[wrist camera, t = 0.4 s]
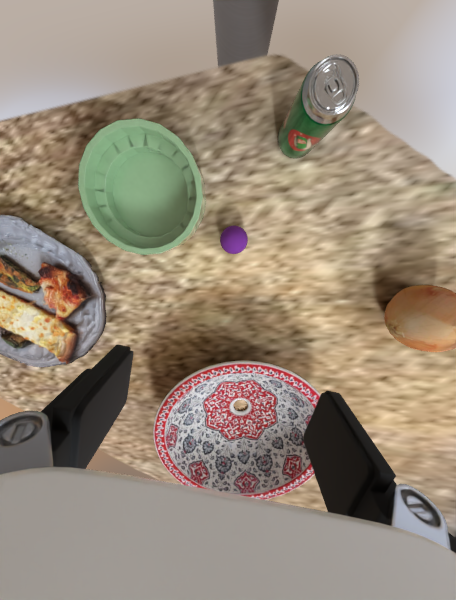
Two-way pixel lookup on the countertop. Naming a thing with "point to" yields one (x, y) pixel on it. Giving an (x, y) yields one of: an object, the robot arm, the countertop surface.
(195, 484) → the ceramic bowl
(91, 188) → the green bowl
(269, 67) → the countertop surface
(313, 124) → the soda can
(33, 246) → the food plate
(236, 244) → the ball
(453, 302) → the onion
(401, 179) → the countertop surface
